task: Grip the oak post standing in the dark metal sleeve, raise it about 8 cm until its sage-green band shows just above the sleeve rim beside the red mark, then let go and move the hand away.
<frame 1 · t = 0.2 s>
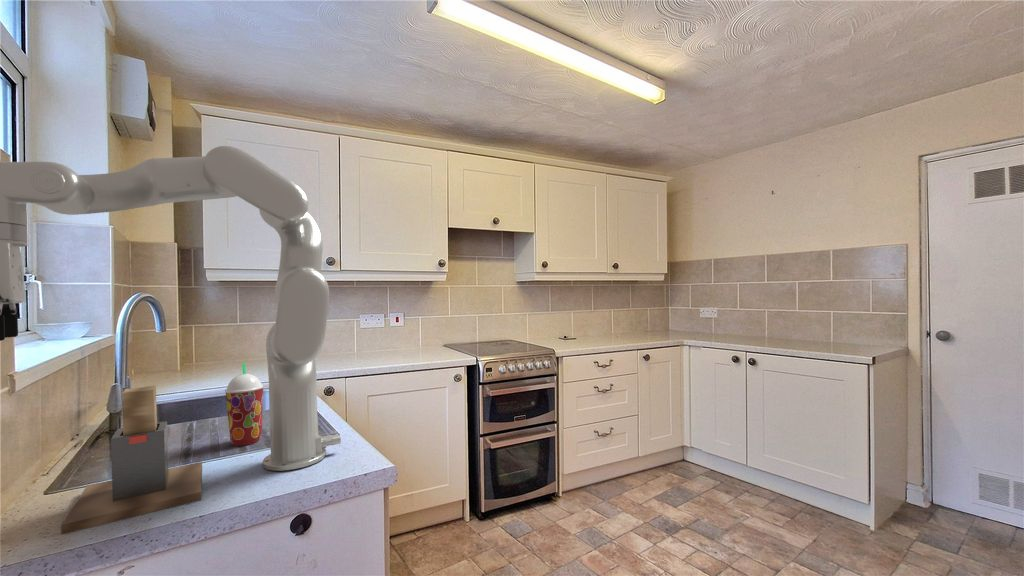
post: (140, 437, 82), point 11 cm above the worktop, slide at 0.0 cm
sleeve: (141, 459, 82), on the base board, point 7 cm above the worktop
base board: (142, 496, 82), on the worktop
smoothie: (246, 442, 111), on the worktop
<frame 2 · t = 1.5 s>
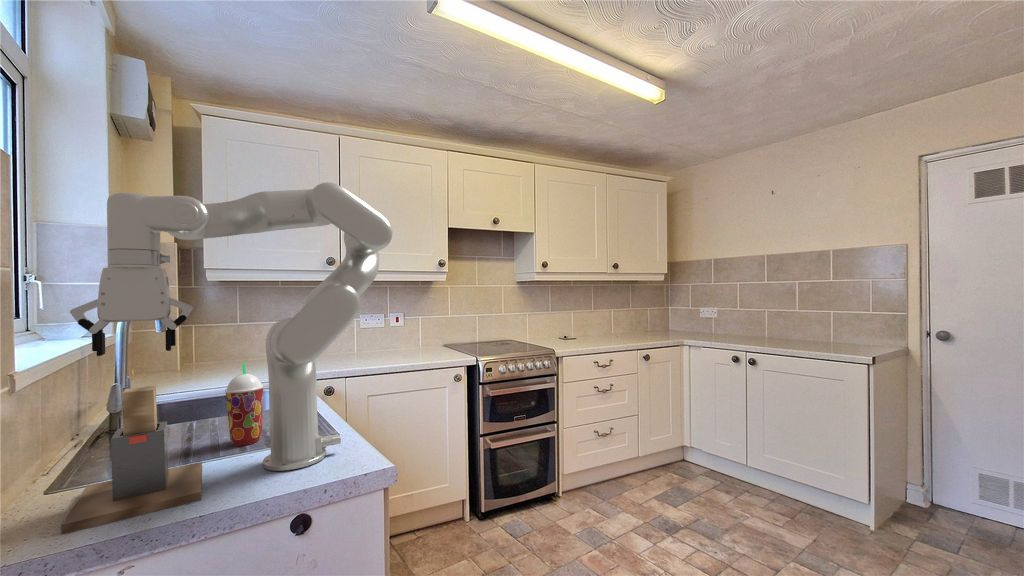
hand: (135, 352, 82), 27 cm above the worktop, tool pointing down, fingers open, 9 cm apart
nothing on the worktop moved.
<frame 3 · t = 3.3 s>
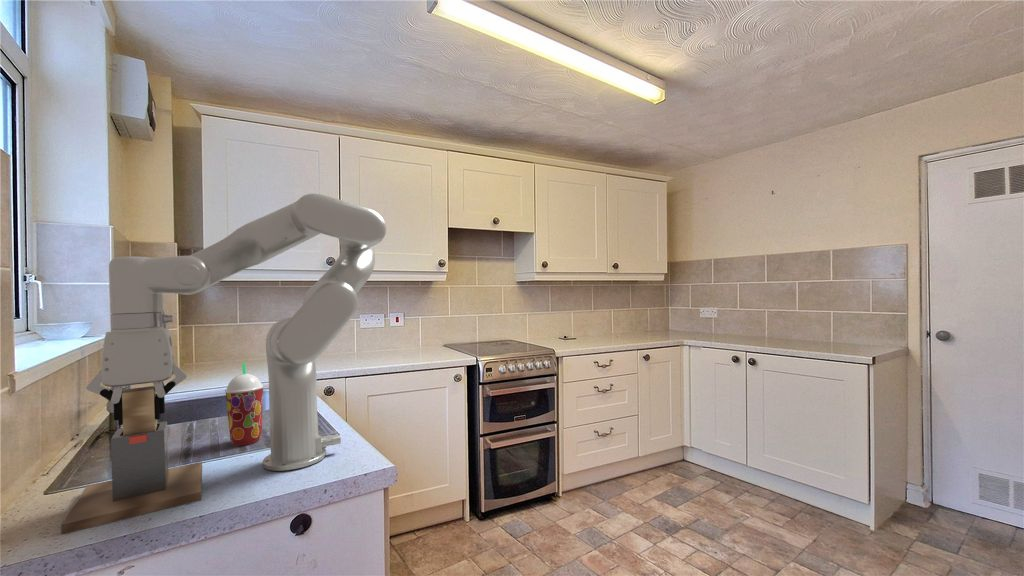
hand: (140, 419, 82), 14 cm above the worktop, tool pointing down, fingers closed on post, 4 cm apart
post: (140, 437, 82), point 11 cm above the worktop, slide at 0.0 cm, touching gripper
everything else where it was.
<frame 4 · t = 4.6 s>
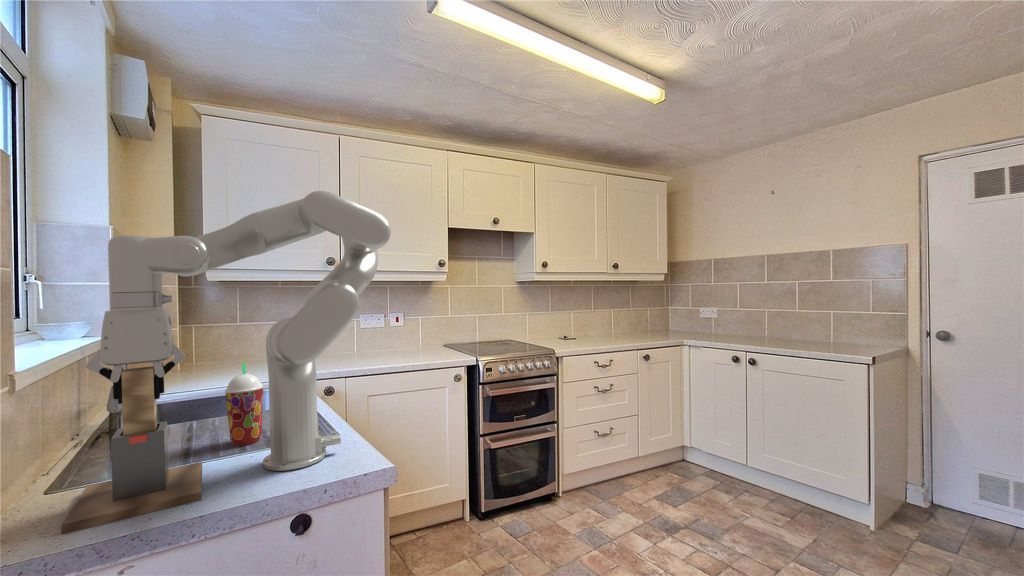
hand: (139, 399, 82), 18 cm above the worktop, tool pointing down, fingers closed on post, 4 cm apart
post: (140, 417, 82), point 15 cm above the worktop, slide at 3.8 cm, touching gripper
everything else where it was.
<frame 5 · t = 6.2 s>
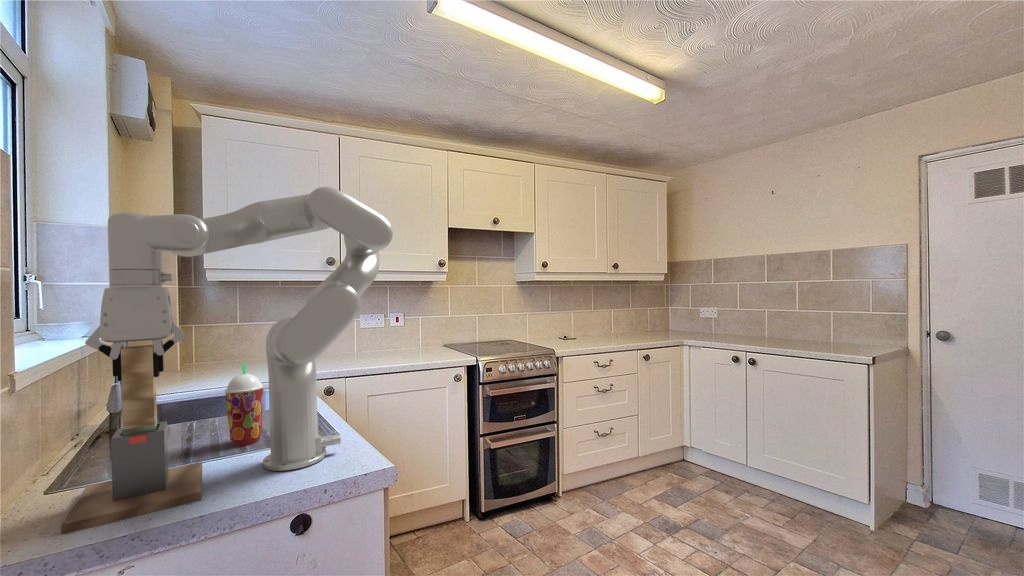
hand: (139, 376, 82), 22 cm above the worktop, tool pointing down, fingers closed on post, 4 cm apart
post: (139, 394, 82), point 19 cm above the worktop, slide at 7.9 cm, touching gripper
everything else where it was.
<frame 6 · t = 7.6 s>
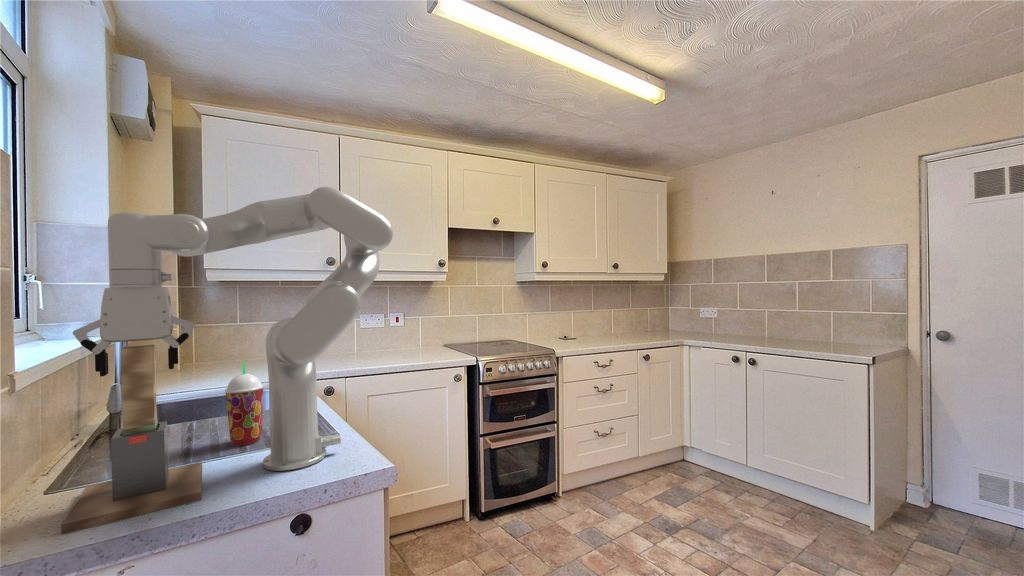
hand: (139, 371, 82), 23 cm above the worktop, tool pointing down, fingers open, 9 cm apart
post: (139, 394, 82), point 19 cm above the worktop, slide at 7.9 cm
everything else where it was.
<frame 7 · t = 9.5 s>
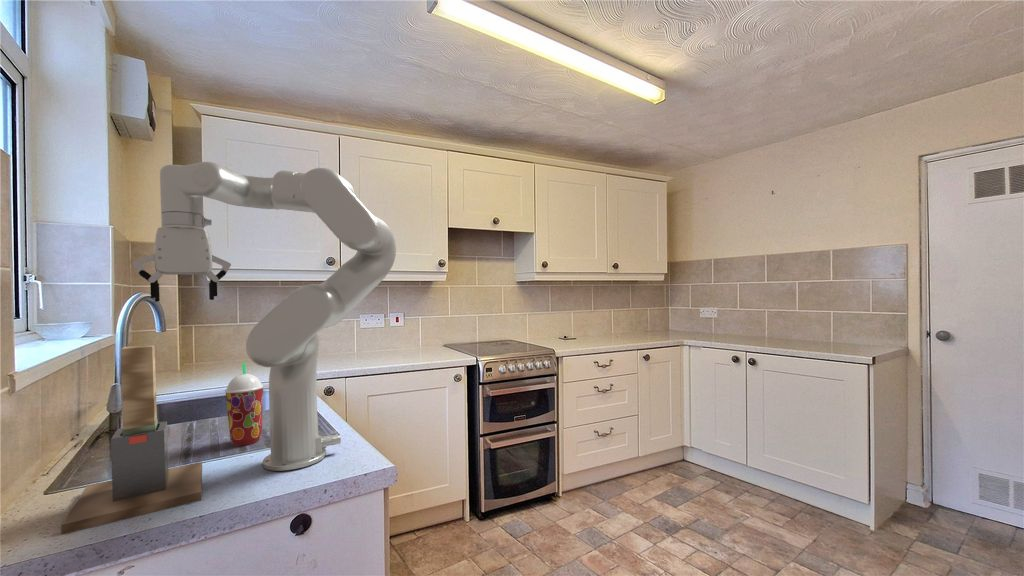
hand: (185, 300, 96), 36 cm above the worktop, tool pointing down, fingers open, 9 cm apart
nothing on the worktop moved.
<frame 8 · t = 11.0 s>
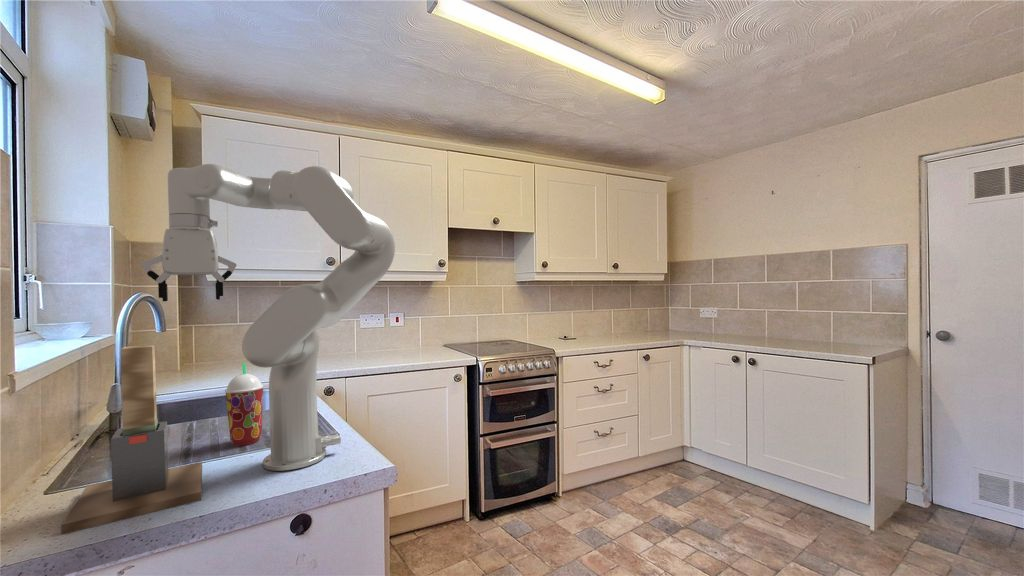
hand: (192, 300, 99), 36 cm above the worktop, tool pointing down, fingers open, 9 cm apart
nothing on the worktop moved.
at the end: post slide at 7.9 cm; the gripper is holding nothing; smoothie moved 0.2 cm from its start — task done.
